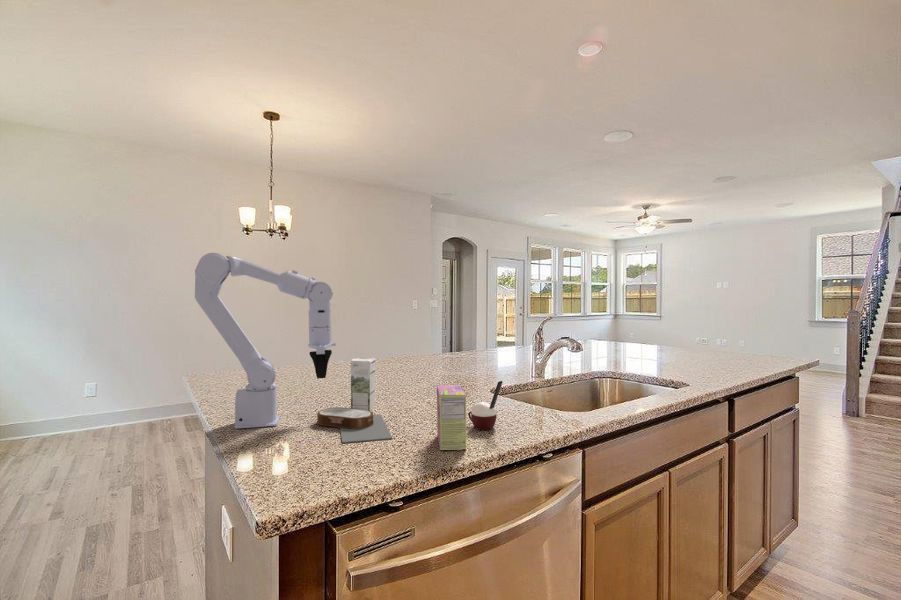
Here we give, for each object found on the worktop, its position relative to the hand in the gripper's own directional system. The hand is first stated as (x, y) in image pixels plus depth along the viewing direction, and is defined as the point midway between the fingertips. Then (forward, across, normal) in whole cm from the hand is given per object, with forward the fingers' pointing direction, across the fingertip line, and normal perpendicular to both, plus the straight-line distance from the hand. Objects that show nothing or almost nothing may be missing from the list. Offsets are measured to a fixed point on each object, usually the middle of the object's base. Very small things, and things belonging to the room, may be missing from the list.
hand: (321, 377), depth 115 cm
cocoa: (+12, -21, -38) cm, 45 cm away
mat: (+11, -13, -10) cm, 19 cm away
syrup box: (+11, +5, -11) cm, 16 cm away
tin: (+8, -12, -3) cm, 15 cm away
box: (+11, -29, -27) cm, 41 cm away
